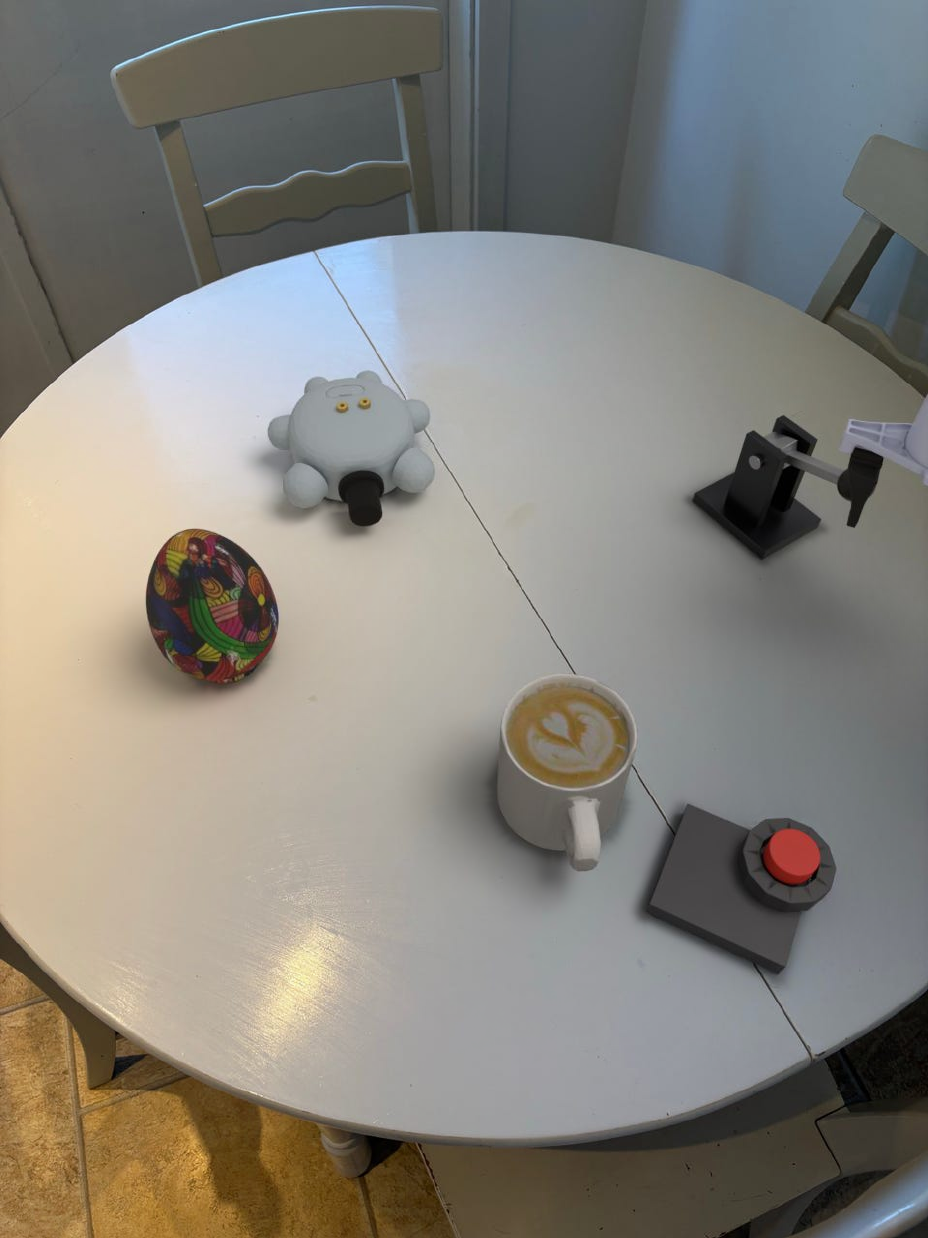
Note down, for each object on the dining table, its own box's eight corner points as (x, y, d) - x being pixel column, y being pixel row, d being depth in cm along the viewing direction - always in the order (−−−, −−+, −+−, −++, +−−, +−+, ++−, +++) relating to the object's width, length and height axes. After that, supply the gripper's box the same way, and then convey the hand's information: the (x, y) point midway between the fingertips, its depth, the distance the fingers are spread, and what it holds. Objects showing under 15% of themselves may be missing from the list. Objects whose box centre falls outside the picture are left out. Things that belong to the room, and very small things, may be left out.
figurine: (269, 418, 101) (285, 558, 90) (255, 359, 94) (271, 505, 83) (420, 398, 103) (452, 533, 92) (418, 340, 96) (453, 479, 85)
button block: (828, 859, 69) (843, 840, 66) (796, 983, 63) (811, 967, 60) (688, 800, 72) (697, 779, 69) (645, 912, 66) (653, 894, 63)
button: (818, 851, 66) (825, 841, 64) (806, 893, 64) (814, 884, 62) (770, 830, 67) (776, 820, 65) (757, 871, 65) (763, 862, 63)
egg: (220, 724, 76) (175, 616, 64) (145, 659, 81) (89, 546, 69) (311, 648, 81) (285, 535, 69) (235, 590, 86) (198, 474, 74)
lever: (881, 498, 79) (886, 467, 77) (857, 513, 78) (861, 481, 76) (776, 454, 88) (778, 425, 86) (752, 466, 86) (754, 437, 84)
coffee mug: (499, 736, 75) (503, 669, 68) (617, 743, 75) (634, 676, 67) (492, 890, 67) (495, 833, 59) (624, 898, 67) (645, 842, 59)
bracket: (818, 527, 90) (852, 449, 82) (762, 560, 88) (791, 483, 80) (747, 471, 96) (773, 393, 88) (692, 501, 93) (713, 423, 85)
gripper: (859, 410, 65) (803, 539, 75) (1076, 463, 61) (985, 590, 72) (872, 356, 69) (818, 485, 79) (1076, 403, 65) (991, 532, 76)
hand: (898, 531), depth 76 cm, fingers open, 7 cm apart
